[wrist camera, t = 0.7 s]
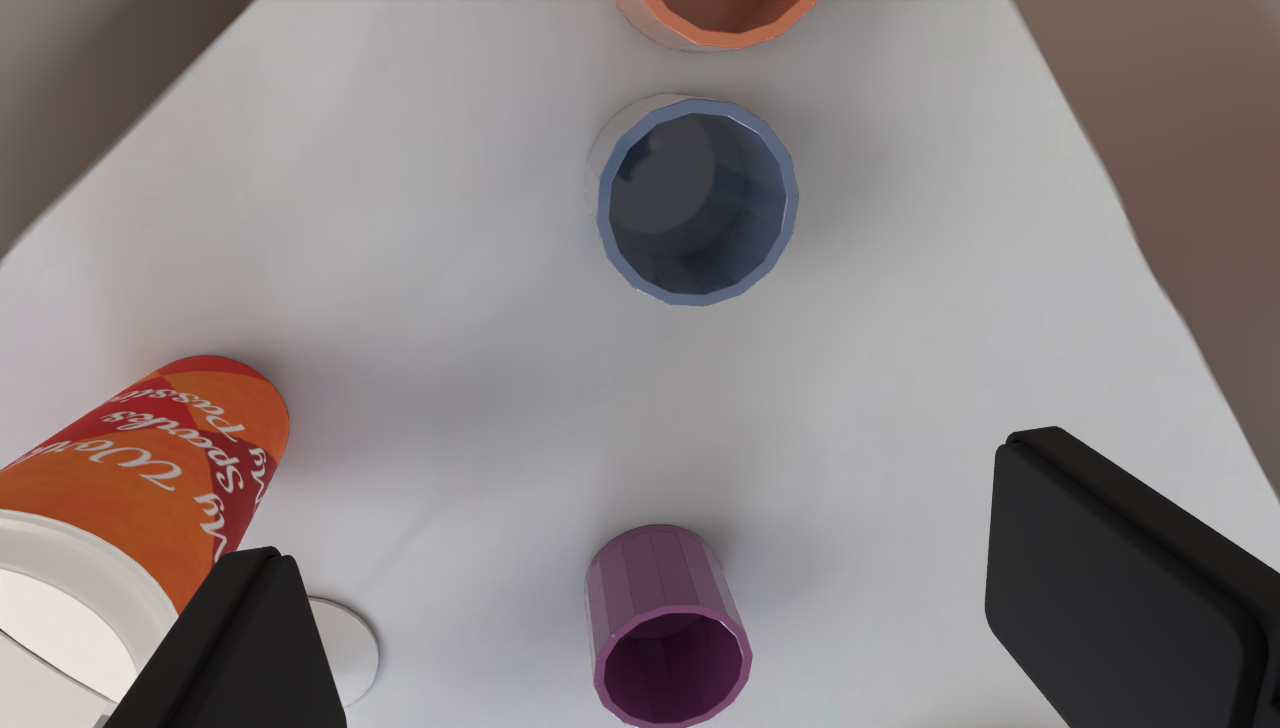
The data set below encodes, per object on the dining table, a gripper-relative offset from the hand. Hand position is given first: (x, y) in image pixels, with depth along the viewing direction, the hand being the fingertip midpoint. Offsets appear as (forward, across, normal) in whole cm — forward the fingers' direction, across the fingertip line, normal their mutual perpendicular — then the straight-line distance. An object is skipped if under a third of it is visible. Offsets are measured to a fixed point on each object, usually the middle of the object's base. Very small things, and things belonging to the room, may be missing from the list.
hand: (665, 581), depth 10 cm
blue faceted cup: (+23, -4, -2) cm, 23 cm away
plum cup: (+23, -1, +18) cm, 29 cm away
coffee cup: (+23, +16, +5) cm, 29 cm away
